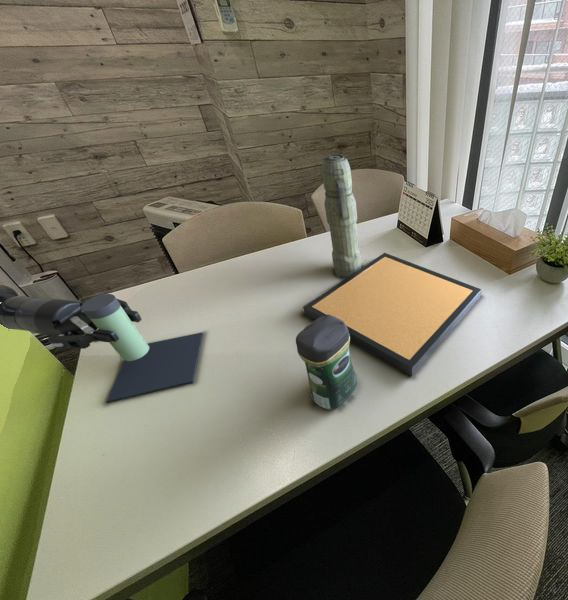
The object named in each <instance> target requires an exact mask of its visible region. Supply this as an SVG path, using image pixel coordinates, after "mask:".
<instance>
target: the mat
mask: <svg viewBox="0 0 568 600" xmlns="http://www.w3.org/2000/svg"><path fill="white" fill-rule="evenodd" d="M203 336H204V333H203V332H198V333H193V334H188V335H182V336H177V337H174V338H168V339H163V340H158V341H153V342H149V343H148V342H147V344H148V345H149V351H148V352H147V353H146V354H145V355H144V356H143V357H141V358H139V359H137V360H133V361H125V360H123V362H122V365H121V367H120V369H119V372H118V374H117V376H116V378H115V380H114V383H113V386H112V387H111V390H110V392H109V395H108V397H107V399H106V402H107V403H108V404H110V403H113V402H118V401H122V400H123V401H124V400H126V399H131V398H135V397H139V396H143V395H147V394H151V393H156V392H160V391H164V390H168V389H172V388H177V387H181V386H186V385H189V384H193V383H194V381H195V376H196V372H197V366H198V361H199V356H200V352H201V347H202V341H203Z"/></svg>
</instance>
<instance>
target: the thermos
mask: <svg viewBox="0 0 568 600" xmlns="http://www.w3.org/2000/svg"><path fill="white" fill-rule="evenodd" d="M321 175H322V176H321V177H322V182H323V189H324V190H325V192H324V195H325V196H324V197H325V198H324V205H323V206H324V210H325V217H326V223H327V224H328V226H329V232H330V240H331V246H332V247H331V248H332V250H331V257H332V258H331V259H332V265H333V267H334V273H335V275H336V277H339V278H343V279H346V278H347V277H349V276H350V275H352V274H353V273H355V272H356V271H358V270H359V269H361V268H362V264H363V263H362V254H361V253H362V252H361V250H360V249H359V240H358V230H357V228H358V227H357V222H358V210H357V201H356V198H355V196H354V192H353V190H352V188H353V181H352V180H353V179H352V170H351V165H350V163H349V160H348V158H347V157H346V156H344V155H342V154H329V155H326V156H325V157H324V158H322V163H321Z"/></svg>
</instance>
